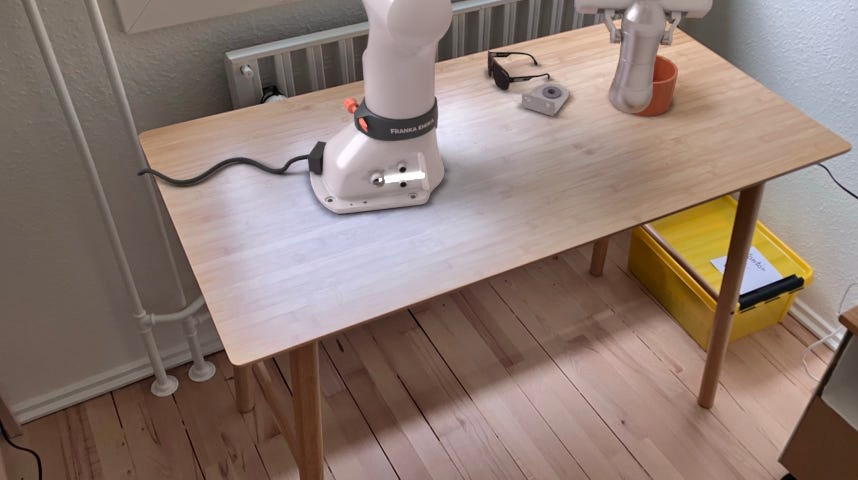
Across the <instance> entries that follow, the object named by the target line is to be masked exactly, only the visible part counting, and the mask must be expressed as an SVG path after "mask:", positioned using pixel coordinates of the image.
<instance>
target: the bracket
mask: <svg viewBox="0 0 858 480" xmlns="http://www.w3.org/2000/svg"><path fill="white" fill-rule="evenodd" d="M569 95H570V93H569V90H568V89H567V87H565V86H564V85H562V84H560V83H555V82H546V83H542V84H540V85H538V86H537V87H536V88H535V89H534V91H533V92H532V93H531V94H530V93H527V92H522V93H521V107H524V109H528V110H531V111H533V112H538V113H540V114H544V115H547V116H553V117H554V116H556V114H557V113H558V112H559V111H560V109H561V108H562V107H563V105H564V104H565V103H566V101H567V100H568V99H569ZM526 98H527V99H526Z"/></svg>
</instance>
